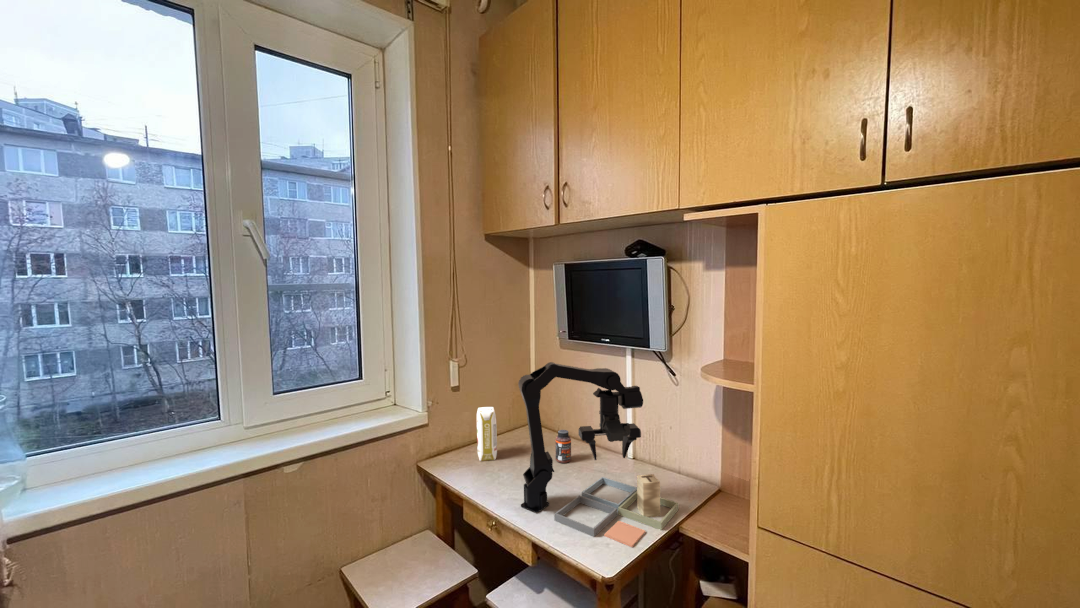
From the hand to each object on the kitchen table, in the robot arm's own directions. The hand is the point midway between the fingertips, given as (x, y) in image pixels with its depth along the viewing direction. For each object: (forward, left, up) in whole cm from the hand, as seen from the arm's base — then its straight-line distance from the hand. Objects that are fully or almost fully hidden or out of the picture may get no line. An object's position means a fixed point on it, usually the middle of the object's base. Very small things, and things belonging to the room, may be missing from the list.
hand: (609, 458), depth 131 cm
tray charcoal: (0, -15, -12) cm, 19 cm away
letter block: (+13, -1, -12) cm, 18 cm away
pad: (+13, -15, -12) cm, 23 cm away
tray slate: (0, 0, -12) cm, 12 cm away
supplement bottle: (-28, +14, -12) cm, 33 cm away
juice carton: (-54, -1, -12) cm, 55 cm away
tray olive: (+13, -1, -12) cm, 18 cm away
